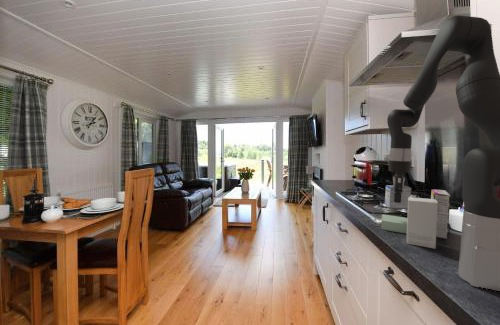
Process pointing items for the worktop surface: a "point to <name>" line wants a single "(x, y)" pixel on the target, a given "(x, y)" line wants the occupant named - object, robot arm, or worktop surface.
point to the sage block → (394, 223)
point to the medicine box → (391, 195)
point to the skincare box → (422, 222)
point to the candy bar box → (442, 212)
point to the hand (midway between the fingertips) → (397, 200)
